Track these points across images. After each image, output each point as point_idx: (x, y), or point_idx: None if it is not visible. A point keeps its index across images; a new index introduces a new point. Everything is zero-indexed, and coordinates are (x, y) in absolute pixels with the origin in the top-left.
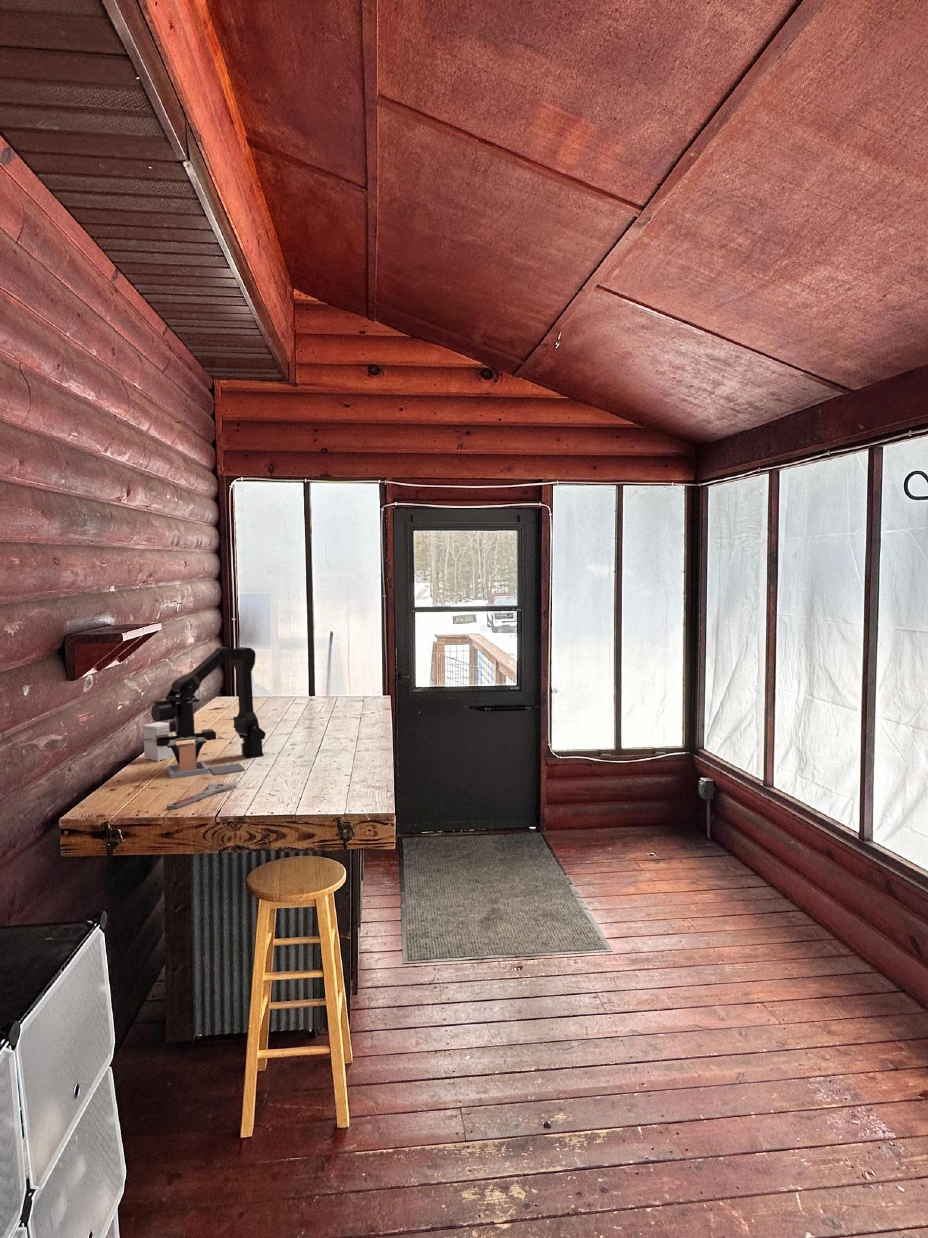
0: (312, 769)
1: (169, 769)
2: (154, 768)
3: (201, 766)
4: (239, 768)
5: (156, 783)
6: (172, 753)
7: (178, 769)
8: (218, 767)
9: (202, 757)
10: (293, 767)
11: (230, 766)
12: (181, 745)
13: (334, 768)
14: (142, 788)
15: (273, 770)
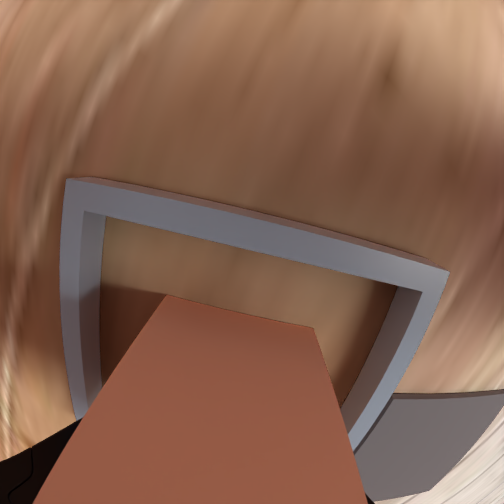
0: (482, 499)
1: (68, 345)
2: (62, 38)
3: (384, 334)
4: (437, 474)
5: (35, 421)
6: None
7: (160, 309)
8: (418, 428)
9: (489, 18)
10: (493, 480)
11: (455, 434)
12: None
13: (494, 498)
14: (3, 423)
15: (458, 495)
